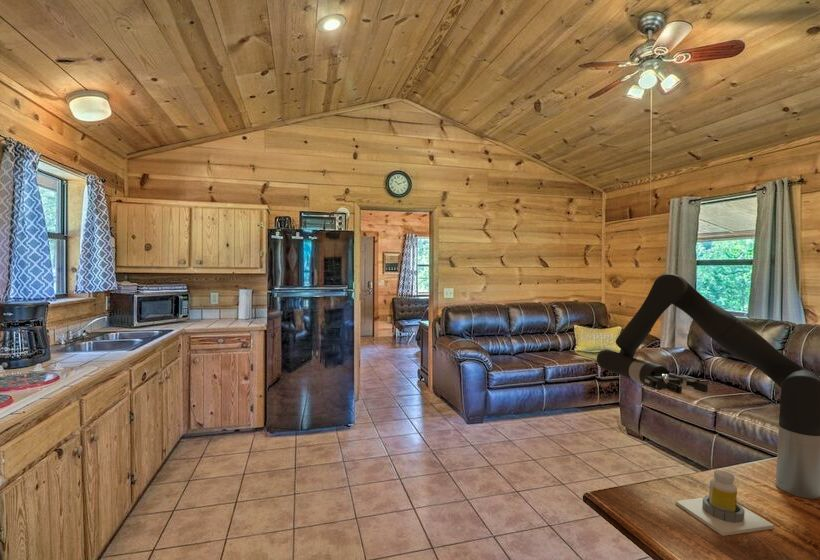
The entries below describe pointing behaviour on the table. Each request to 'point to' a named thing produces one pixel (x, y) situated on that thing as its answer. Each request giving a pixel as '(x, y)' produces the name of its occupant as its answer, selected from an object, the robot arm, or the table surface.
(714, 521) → the socket plate
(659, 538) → the table surface
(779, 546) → the table surface
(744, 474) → the table surface
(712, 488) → the supplement bottle
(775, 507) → the table surface
